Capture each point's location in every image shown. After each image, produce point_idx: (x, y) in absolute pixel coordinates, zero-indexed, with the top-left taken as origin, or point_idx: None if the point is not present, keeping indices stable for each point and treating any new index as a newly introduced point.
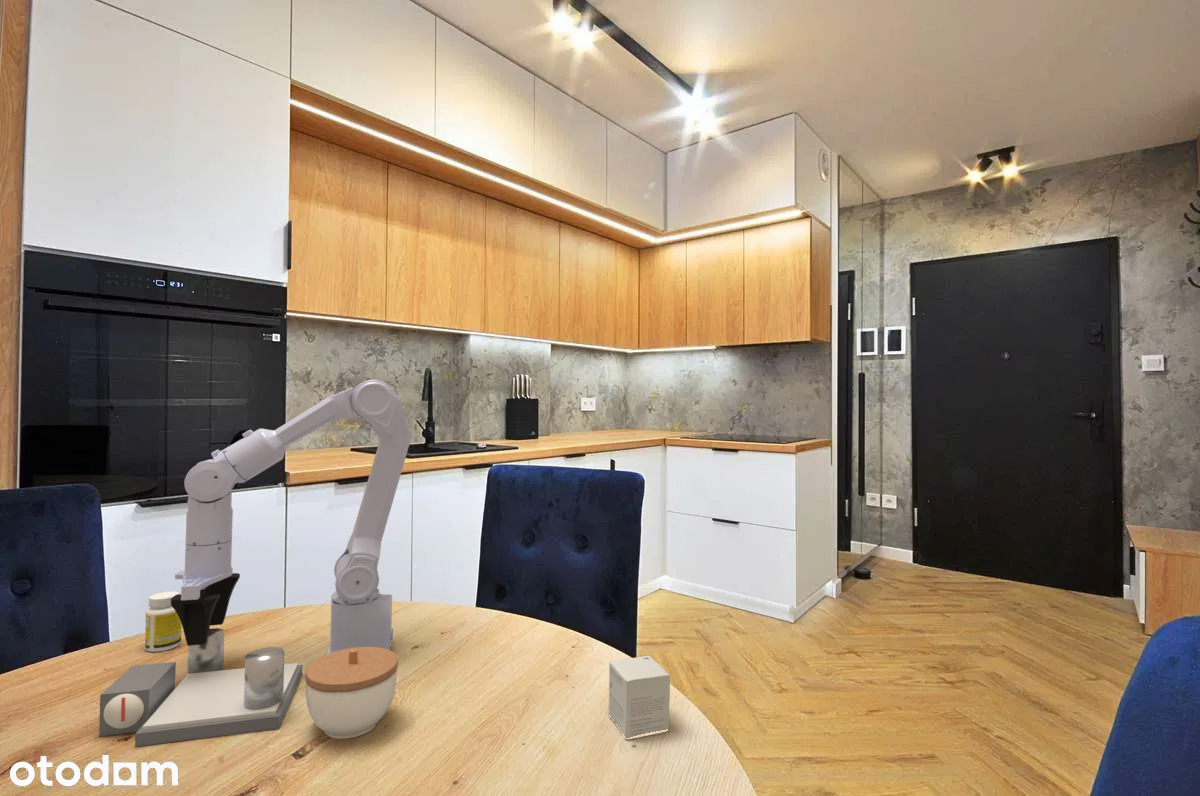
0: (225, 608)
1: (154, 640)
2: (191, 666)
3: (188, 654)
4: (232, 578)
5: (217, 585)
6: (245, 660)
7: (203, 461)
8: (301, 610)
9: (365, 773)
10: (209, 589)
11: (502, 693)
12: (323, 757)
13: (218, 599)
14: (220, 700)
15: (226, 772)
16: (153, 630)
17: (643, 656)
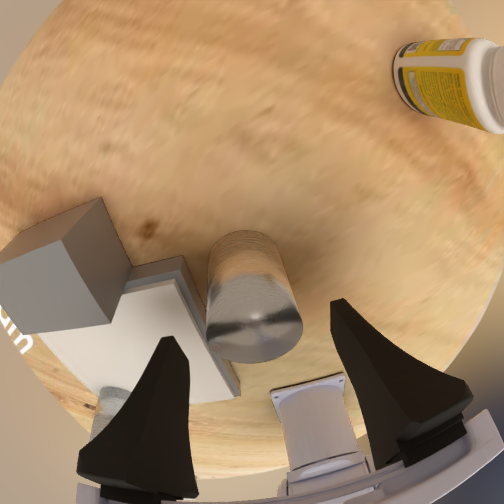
0: (348, 374)
1: (410, 68)
2: (210, 272)
3: (219, 277)
4: (378, 466)
5: (382, 434)
6: (90, 440)
7: None
8: (493, 266)
9: (91, 426)
10: (384, 411)
11: (206, 458)
12: (93, 415)
13: (363, 389)
14: (102, 366)
15: (47, 376)
16: (429, 65)
17: (195, 499)
